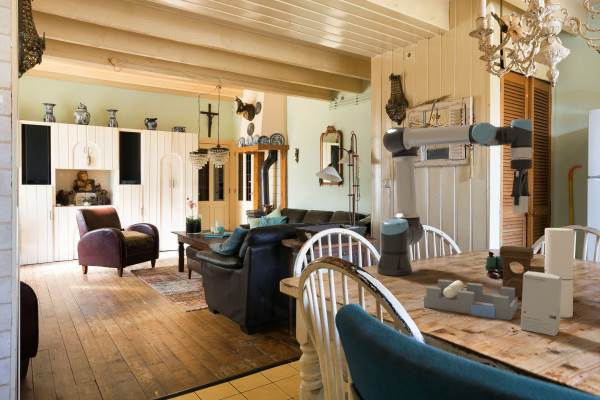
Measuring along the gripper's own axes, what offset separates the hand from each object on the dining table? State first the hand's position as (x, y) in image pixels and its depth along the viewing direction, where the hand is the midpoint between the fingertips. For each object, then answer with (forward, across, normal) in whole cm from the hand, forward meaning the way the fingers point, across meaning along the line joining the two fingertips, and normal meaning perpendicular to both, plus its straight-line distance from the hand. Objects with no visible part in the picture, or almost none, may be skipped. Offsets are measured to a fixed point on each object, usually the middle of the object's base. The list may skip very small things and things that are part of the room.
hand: (520, 213), depth 164 cm
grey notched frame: (+27, -49, +5) cm, 56 cm away
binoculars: (+27, +2, +8) cm, 29 cm away
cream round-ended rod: (+24, -49, +10) cm, 55 cm away
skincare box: (+27, -59, -16) cm, 67 cm away
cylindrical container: (+27, -40, -18) cm, 52 cm away
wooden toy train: (+27, -24, -8) cm, 37 cm away
